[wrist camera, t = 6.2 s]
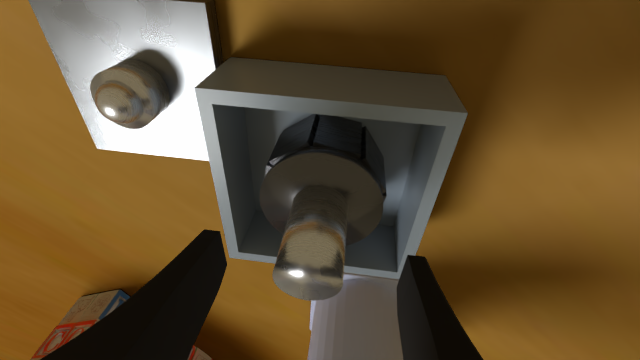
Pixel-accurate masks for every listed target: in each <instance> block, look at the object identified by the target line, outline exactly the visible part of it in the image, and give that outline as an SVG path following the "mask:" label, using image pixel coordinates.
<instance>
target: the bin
mask: <svg viewBox="0 0 640 360" xmlns="http://www.w3.org/2000/svg"><path fill="white" fill-rule="evenodd" d="M194 90H195V94H196V99H197V104H198V109H199V114H200V118H201V123H202V128H203V133H204V138H205V142H206V147H207V152H208V157H209V161H210V166H211V171H212V176H213V181H214V185H215V190H216V195H217V200H218V205H219V209H220V214H221V219H222V224H223V228H224V233H225V238H226V243H227V248H228V252H229V257H230V258H237V259H244V260H252V261H260V262H268V263H276V260H277V256H278V252H279V249H280V245H281V242H282V238H283V234H281V233H280V232H279V231H277V230H276V229H275V228H274V227H273V226H272V225H271V224H270V223H269V221H268V220H267V218H266V217H265V215H264V213H263V211H262V208H261V205H260V198H259V196H260V189H261V185H262V183H263V180H264V177H265V171H266V165H267V163H268V160H269V158H270V156H271V154H272V151H273V149H274V147H275V145H276V142H277V140H278V138H279V136H280V134H282V131H283V130H284V129H286V128H288V127H290V126H292V125H293V124H295V123H297V122H299V121H301V120H303V119H305V118H307V117H309V116H310V115H312V114H318V116H319V117H320V116H321V115H332V116H339V117H343V118H346V119H350V120H354V121H357V122H361V123H362V127H364V126H366V127H367V129H368V130H369V132H370V134H371V136H372V137H373V139H374V141H375V142H376V144H377V146H378V148H379V149H380V151H381V153H382V155H383V156H384V168H385V180H386V194H387V197H386V199H385V201H384V203H383V213H382V217H381V220H380V222H379V224H378V225H377V227H376V228H375V229H374V230H373V232H372V233H370V234H369V235H368V236H367V237H365V238H364V239H362V240H360V241H358V242H356V243H354V244H351V245H347V246H345V261H344V272H346V273H353V274H361V275H369V276H377V277H384V278H392V279H399V278H400V276H401V273H402V270H403V267H404V264H405V261H406V258H407V255H414V256H415V255H416V252H417V249H418V247H419V244H420V241H421V239H422V236H423V233H424V231H425V228H426V225H427V222H428V220H429V217H430V214H431V212H432V209H433V206H434V204H435V201H436V198H437V195H438V193H439V190H440V187H441V185H442V182H443V179H444V177H445V174H446V171H447V168H448V166H449V163H450V160H451V158H452V155H453V152H454V150H455V147H456V144H457V142H458V139H459V136H460V133H461V131H462V128H463V125H464V123H465V120H466V117H467V115H468V112H467V111H466V109H465V107H464V106H463V104H462V102H461V101H460V99H459V97H458V96H457V94H456V92H455V91H454V89H453V87H452V86H451V84H450V82H449V81H448V79H447V77H446V76H445V75H433V74H421V73H410V72H398V71H386V70H375V69H363V68H351V67H340V66H328V65H317V64H305V63H293V62H282V61H270V60H258V59H247V58H235V57H230V58H229V59H228V60H226V61H225V62H224V63H223V64H222V65H220V66H219V67H218V68H217V69H216V70H215V71H213V72H212V73H211V74H210V75H209V76H207V77H206V78H205V79H204V80H203V81H201V82H200V83H199V84H198V85H197V86H196V87H194Z"/></svg>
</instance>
